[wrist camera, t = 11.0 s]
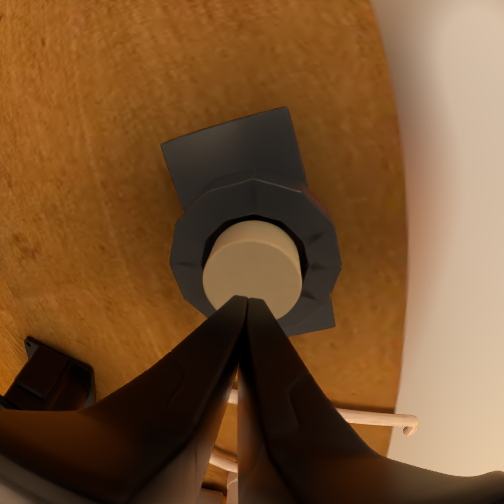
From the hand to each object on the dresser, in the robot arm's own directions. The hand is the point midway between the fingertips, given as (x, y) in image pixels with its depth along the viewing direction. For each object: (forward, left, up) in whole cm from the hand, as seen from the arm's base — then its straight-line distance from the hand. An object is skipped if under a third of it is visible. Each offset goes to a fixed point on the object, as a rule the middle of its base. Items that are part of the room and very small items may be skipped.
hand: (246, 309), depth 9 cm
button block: (0, 0, -7) cm, 7 cm away
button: (0, 0, -3) cm, 3 cm away
